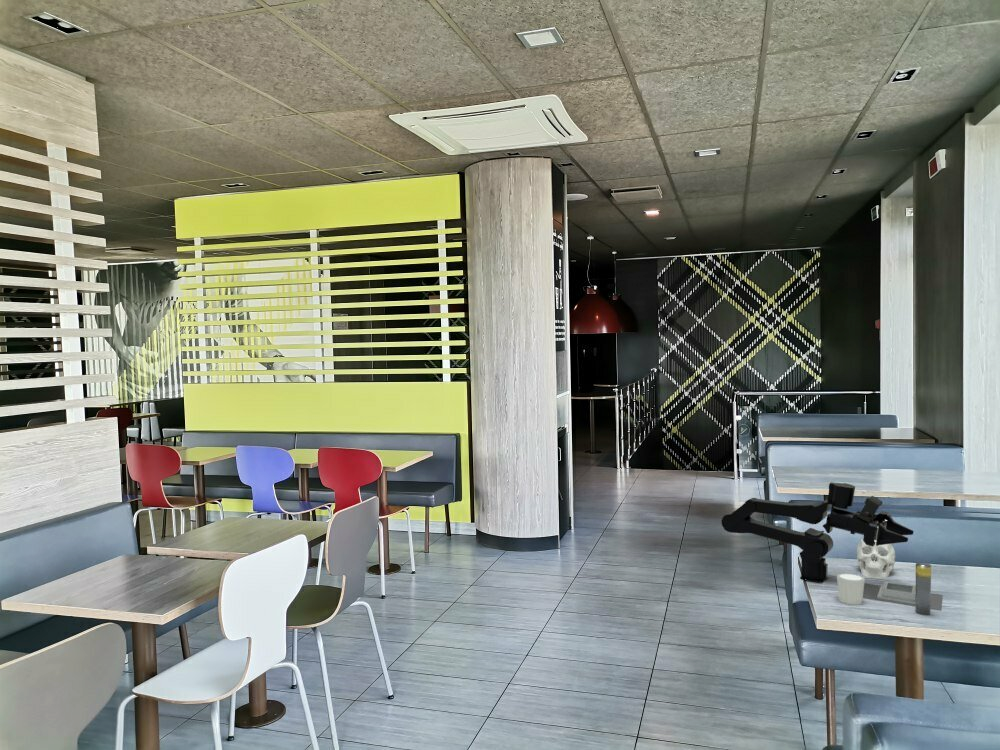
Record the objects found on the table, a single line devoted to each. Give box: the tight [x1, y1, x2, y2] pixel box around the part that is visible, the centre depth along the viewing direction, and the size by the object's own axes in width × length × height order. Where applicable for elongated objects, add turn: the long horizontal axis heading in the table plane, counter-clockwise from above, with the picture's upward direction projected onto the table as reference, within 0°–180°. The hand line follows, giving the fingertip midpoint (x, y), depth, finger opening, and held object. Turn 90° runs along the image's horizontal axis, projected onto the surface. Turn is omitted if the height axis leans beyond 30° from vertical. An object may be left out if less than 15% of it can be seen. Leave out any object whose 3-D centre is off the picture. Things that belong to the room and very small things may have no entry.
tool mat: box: [863, 582, 944, 612], centre depth 201 cm, size 22×14×1 cm, turn 57°
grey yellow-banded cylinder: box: [914, 562, 932, 616], centre depth 188 cm, size 4×4×13 cm
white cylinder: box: [836, 573, 865, 606], centre depth 197 cm, size 7×7×7 cm
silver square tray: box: [877, 581, 916, 605], centre depth 200 cm, size 10×10×3 cm
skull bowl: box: [856, 538, 896, 580], centre depth 222 cm, size 10×14×12 cm
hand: (910, 536), depth 201 cm, fingers open, 9 cm apart
